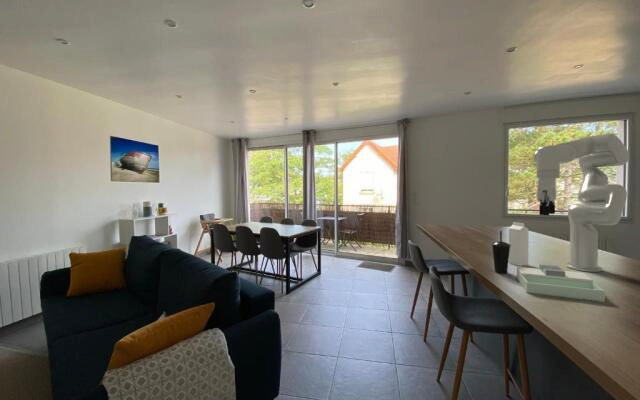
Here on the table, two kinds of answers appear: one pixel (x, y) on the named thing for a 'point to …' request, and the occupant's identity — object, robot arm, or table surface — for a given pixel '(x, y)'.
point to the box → (563, 288)
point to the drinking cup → (501, 255)
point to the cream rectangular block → (538, 273)
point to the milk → (518, 244)
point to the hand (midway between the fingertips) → (547, 214)
